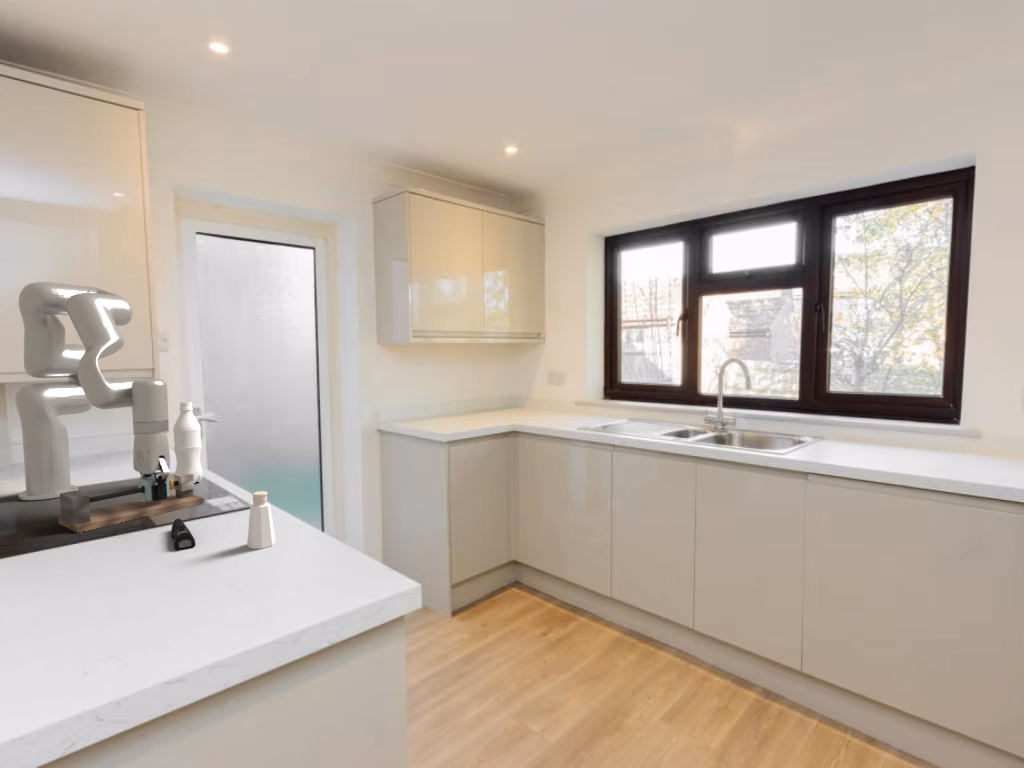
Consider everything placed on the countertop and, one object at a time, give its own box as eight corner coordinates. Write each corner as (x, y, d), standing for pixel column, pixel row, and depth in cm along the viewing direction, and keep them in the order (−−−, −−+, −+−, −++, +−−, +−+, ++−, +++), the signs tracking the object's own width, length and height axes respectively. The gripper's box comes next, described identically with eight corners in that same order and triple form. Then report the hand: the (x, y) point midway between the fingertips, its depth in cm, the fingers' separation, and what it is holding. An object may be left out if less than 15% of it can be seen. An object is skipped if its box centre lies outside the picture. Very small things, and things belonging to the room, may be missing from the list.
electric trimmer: (188, 529, 121) (187, 516, 121) (196, 548, 109) (195, 533, 109) (168, 533, 119) (168, 519, 119) (174, 553, 106) (173, 537, 106)
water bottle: (190, 487, 157) (186, 403, 156) (169, 485, 159) (166, 403, 157) (208, 481, 164) (205, 401, 163) (188, 480, 166) (185, 400, 164)
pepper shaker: (247, 551, 107) (245, 497, 106) (246, 542, 111) (244, 491, 111) (276, 546, 109) (275, 493, 108) (275, 538, 114) (273, 488, 113)
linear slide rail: (77, 533, 118) (76, 499, 117) (58, 523, 124) (56, 492, 124) (203, 503, 140) (202, 475, 139) (181, 496, 147) (180, 470, 146)
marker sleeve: (147, 500, 132) (146, 481, 132) (139, 497, 135) (138, 478, 134) (169, 496, 136) (168, 477, 136) (160, 493, 139) (159, 474, 139)
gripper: (119, 427, 136) (123, 496, 137) (149, 432, 127) (153, 507, 128) (152, 423, 142) (155, 490, 143) (183, 428, 133) (186, 499, 134)
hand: (154, 497), depth 135 cm, fingers closed on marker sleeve, 5 cm apart
